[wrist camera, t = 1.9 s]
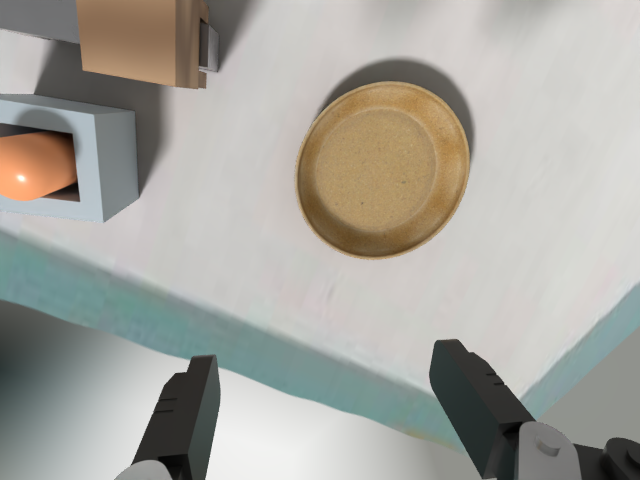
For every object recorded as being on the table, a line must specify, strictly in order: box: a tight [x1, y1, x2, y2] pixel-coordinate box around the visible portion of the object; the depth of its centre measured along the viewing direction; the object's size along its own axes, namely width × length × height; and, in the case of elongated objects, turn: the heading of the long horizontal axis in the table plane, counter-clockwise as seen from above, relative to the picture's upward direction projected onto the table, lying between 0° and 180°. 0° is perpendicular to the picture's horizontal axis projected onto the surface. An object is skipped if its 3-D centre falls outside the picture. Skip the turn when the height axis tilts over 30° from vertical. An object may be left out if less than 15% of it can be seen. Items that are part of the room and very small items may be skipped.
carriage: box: [76, 0, 209, 89], centre depth 19 cm, size 5×4×7 cm
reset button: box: [0, 130, 78, 201], centre depth 21 cm, size 4×4×6 cm
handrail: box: [0, 0, 219, 72], centre depth 22 cm, size 2×13×4 cm, turn 81°
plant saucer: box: [294, 81, 470, 260], centre depth 28 cm, size 15×15×3 cm
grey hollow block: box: [0, 94, 139, 223], centre depth 23 cm, size 7×7×6 cm
